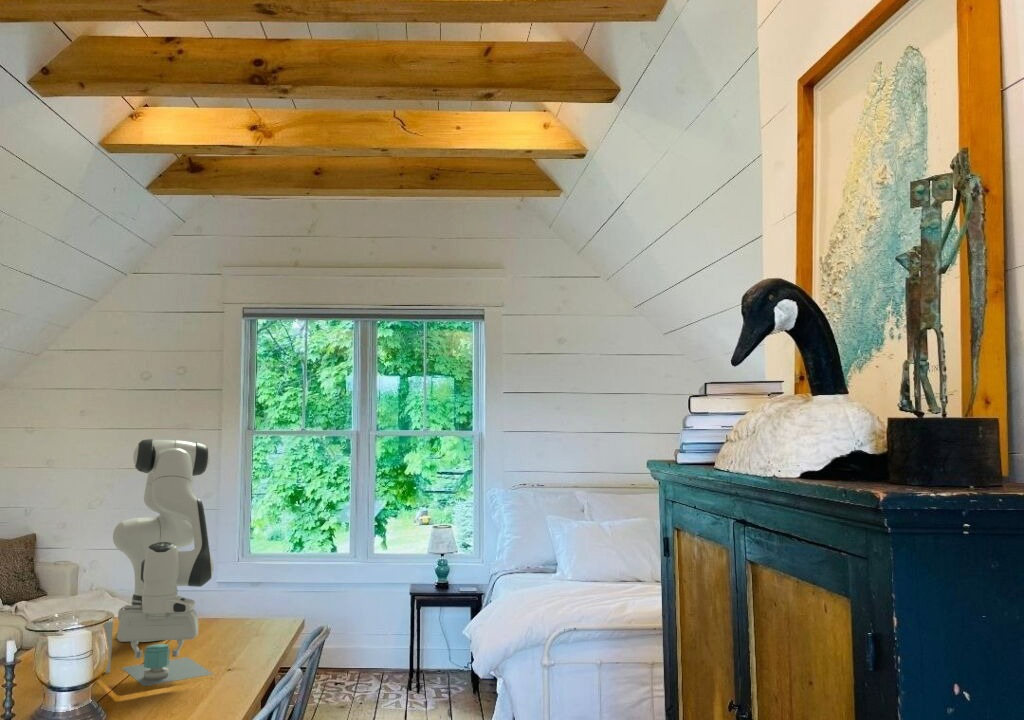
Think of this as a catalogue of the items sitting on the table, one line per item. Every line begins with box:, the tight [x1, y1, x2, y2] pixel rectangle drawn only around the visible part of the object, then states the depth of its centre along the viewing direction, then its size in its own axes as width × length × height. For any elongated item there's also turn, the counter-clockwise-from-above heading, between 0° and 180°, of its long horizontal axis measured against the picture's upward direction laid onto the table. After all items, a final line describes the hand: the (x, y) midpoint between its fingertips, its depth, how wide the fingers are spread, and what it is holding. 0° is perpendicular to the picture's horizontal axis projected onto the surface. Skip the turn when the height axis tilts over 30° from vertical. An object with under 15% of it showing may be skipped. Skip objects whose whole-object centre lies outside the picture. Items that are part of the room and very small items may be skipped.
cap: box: [143, 643, 171, 668], centre depth 217 cm, size 6×6×5 cm
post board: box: [121, 656, 214, 691], centre depth 222 cm, size 22×18×8 cm
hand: (157, 657), depth 217 cm, fingers open, 8 cm apart
